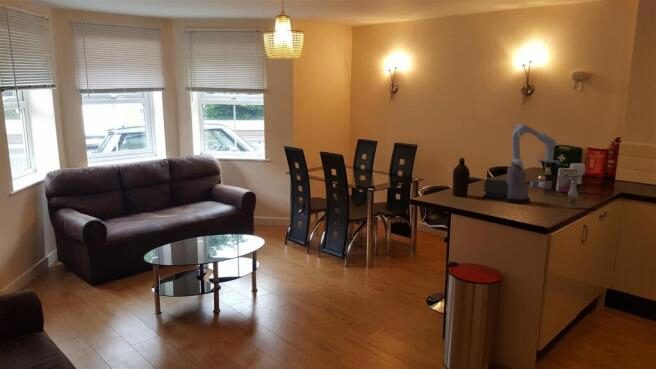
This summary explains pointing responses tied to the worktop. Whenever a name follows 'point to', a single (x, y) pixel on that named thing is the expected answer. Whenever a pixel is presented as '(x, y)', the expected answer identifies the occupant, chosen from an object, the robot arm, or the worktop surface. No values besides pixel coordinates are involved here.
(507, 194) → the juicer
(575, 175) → the candle holder
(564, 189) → the candy bar box
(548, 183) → the scale
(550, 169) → the spacer
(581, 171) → the cup
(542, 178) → the spacer
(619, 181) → the worktop surface
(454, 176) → the olive oil
